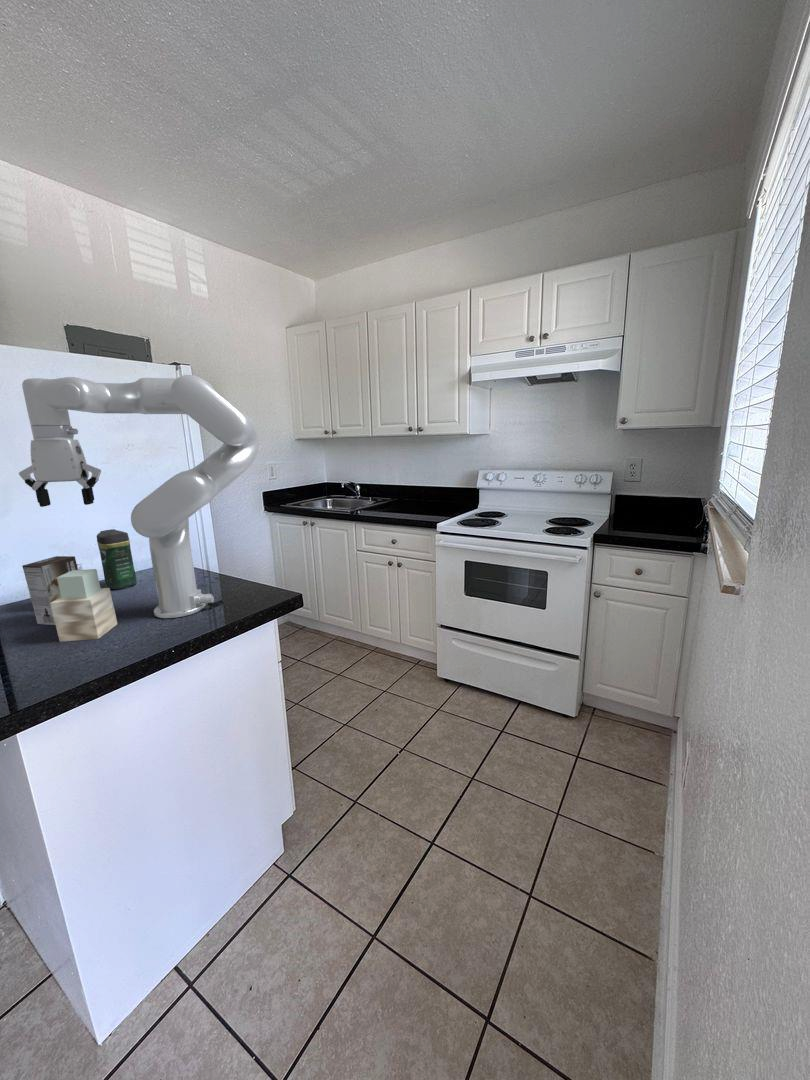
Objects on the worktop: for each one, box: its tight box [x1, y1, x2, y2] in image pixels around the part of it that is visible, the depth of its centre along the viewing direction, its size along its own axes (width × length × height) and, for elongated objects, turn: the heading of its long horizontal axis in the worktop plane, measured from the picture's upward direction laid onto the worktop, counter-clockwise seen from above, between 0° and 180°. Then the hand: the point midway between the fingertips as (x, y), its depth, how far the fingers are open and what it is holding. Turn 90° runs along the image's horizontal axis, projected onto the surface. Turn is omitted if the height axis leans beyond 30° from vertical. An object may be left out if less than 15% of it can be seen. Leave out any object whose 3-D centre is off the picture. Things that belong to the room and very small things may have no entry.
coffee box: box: [22, 555, 78, 626], centre depth 113 cm, size 9×6×16 cm
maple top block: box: [50, 587, 114, 623], centre depth 103 cm, size 8×8×5 cm
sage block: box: [57, 568, 102, 600], centre depth 102 cm, size 6×6×6 cm
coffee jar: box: [96, 528, 138, 590], centre depth 138 cm, size 10×8×19 cm
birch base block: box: [55, 606, 118, 642], centre depth 105 cm, size 8×8×5 cm
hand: (67, 504), depth 106 cm, fingers open, 9 cm apart
